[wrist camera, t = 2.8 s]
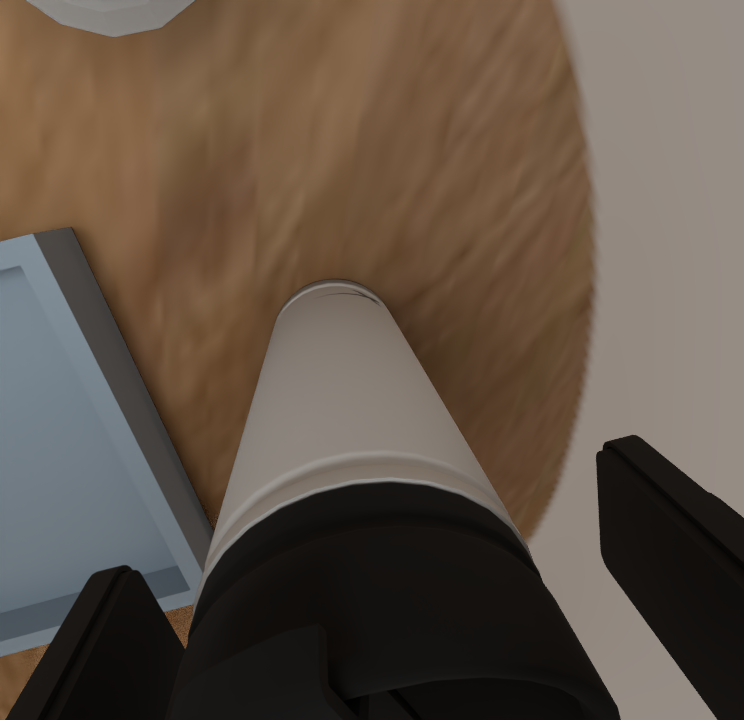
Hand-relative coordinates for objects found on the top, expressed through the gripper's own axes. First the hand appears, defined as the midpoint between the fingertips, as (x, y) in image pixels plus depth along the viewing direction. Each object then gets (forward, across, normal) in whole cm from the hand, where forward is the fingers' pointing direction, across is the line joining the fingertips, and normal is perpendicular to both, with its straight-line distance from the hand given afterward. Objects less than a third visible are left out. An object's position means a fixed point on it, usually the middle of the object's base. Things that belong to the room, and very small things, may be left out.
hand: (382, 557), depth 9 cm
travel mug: (+16, +1, 0) cm, 16 cm away
